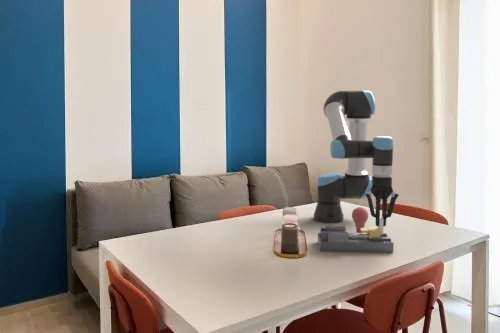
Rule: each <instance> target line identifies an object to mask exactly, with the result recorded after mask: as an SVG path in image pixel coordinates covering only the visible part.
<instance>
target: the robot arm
mask: <svg viewBox="0 0 500 333" xmlns="http://www.w3.org/2000/svg"><path fill="white" fill-rule="evenodd" d="M375 112H376V101H375V97H374V95H373V93H372V92H371V91H370V90H363V89H362V90H361V89H360V90H338V91H335V92H333V93H332V94H330V95H329V96H328V97H327V98H326V100H325V102H324V104H323V114H324V117H325V118H327V120H328V125H329V129H330V132H331V136H332V139H333V140H332V141H331V142H330V146H329V149H330V150H329V152H330V156H331V157H332V158H333V159H341V160H342V159H348V160H347V161H348V162H347V170H345V172H344V175H343V176H342V174H341V173H340V172H331V173H330V172H329V173H325V174H322V175H319V176H318V177H317V182H316V186H317V192H316V194H317V195H316V197H317V198H316V207H315V209H314V213H313V219H314V220H315V221H317V222H320V223H329V224H330V223H340V222H343V221H344V213H343V209H342V206H341V200H361V199H363V200H364V199H367V202H368V203H367V204H368V207H369V212H370V216H372V217H373V218H374V219H375V227H378V228H379V230H380V235H383V233H384V227H386V226H387V218H391V217H392V215H393V211H394V208H395V204H396V200H397V199H398V198H399V193H398V192H395V191H394V189H393V177H392V175H393V158H394V153H393V152H394V138H393V137H391V136H387V135H386V136H385V135H382V136H379V135H378V136H374V137H373V139H369V140H368V138H367V137H368V122H369V121H370V120H371V119H372V116H373V115H374V114H375ZM345 116H346V117H345ZM347 121H348V122H349V125H348V124H347ZM367 159H372V165H371V166H372V168H371V170H372V171H371V172H372V173H371V174H372V176H371V175H369V172H368V171H367V168H366V167H367V163H366V162H367ZM372 195H373V196H374V198H375V208H374V204H373V200H372ZM390 196H391V198H390V201H389V204H388V199H389V197H390ZM381 200H382V201H381ZM381 204H382V206H381ZM387 205H388V206H387ZM381 207H382V208H381Z"/></svg>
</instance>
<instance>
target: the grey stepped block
mask: <svg viewBox="0 0 500 333" xmlns="http://www.w3.org/2000/svg"><path fill="white" fill-rule="evenodd" d="M319 229H320V230H319V232H318V233H317V244H318V248H319V252H321V253H323V252H329V253H331V252H332V253H333V252H335V253H337V252H338V253H339V252H340V253H383V252H393V253H394V241H393V240H392V238H391V237H390V236H389V235H388V233H387V232H383V235H380V238H376V237H372V239H369V237H350V238H349V234H348V233H349V232H348V231H347V228H346V226H345V225H343V226H342V225H339V226H338V225H337V226H336V225H325V226H324V227H323V226H322V227H321V226H320V227H319Z"/></svg>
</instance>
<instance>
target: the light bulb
mask: <svg viewBox="0 0 500 333" xmlns="http://www.w3.org/2000/svg"><path fill="white" fill-rule="evenodd" d="M351 218H352V221H353V222H354V226H355V230H356V232H355V233H362V232H361V231H360V228H365V225H366V222H367V221H368V218H369V213H368V211H367V209H366V208H364V207H362V206H360V207H359V206H358V207H356V208H354V209H353V210H352V212H351Z"/></svg>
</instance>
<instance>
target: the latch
mask: <svg viewBox="0 0 500 333" xmlns="http://www.w3.org/2000/svg"><path fill="white" fill-rule="evenodd" d="M360 231H361V232H362V233H368V235H369V239H372V237H376V238H380V230H379V228H378V226H367V227H364V228H360Z"/></svg>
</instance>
